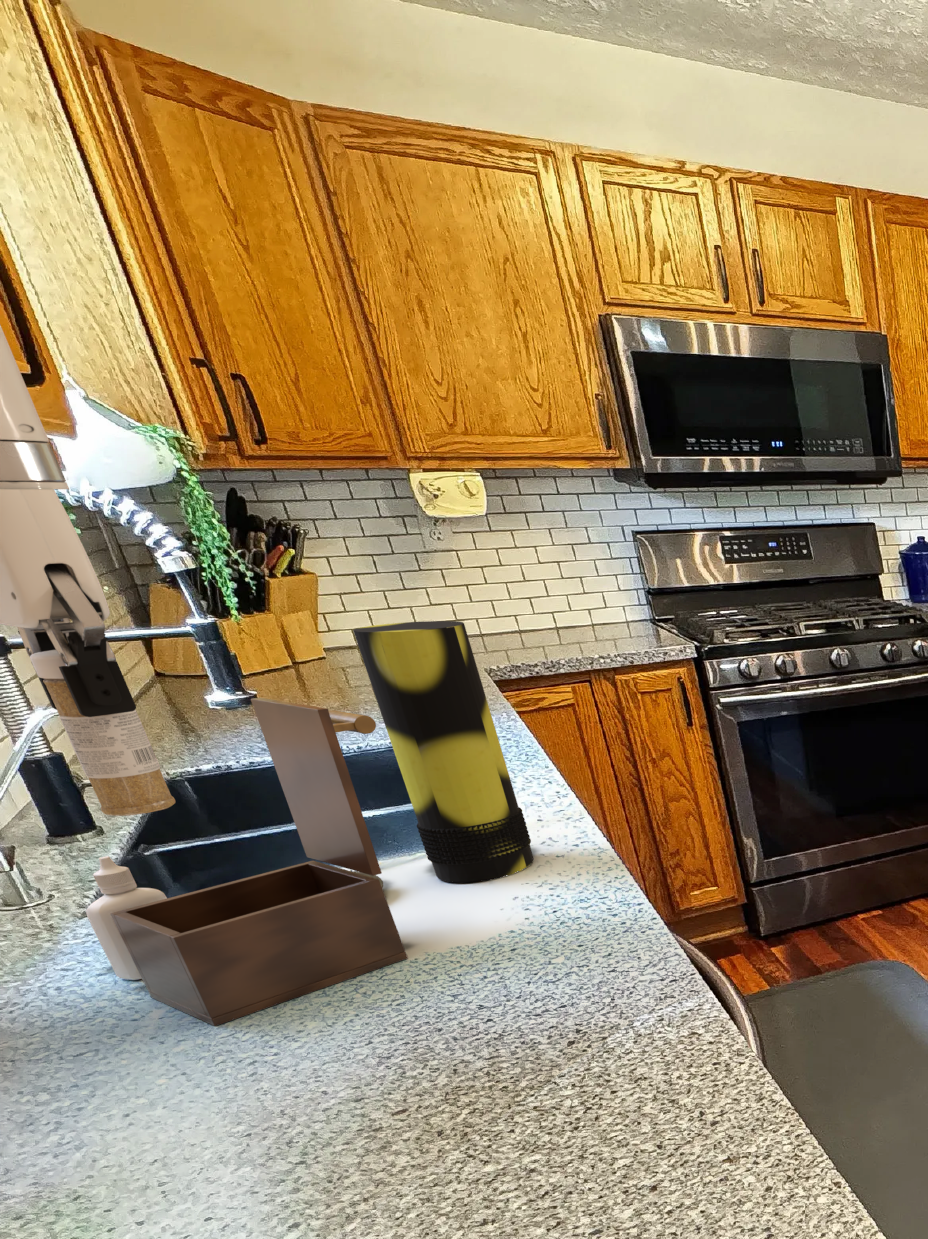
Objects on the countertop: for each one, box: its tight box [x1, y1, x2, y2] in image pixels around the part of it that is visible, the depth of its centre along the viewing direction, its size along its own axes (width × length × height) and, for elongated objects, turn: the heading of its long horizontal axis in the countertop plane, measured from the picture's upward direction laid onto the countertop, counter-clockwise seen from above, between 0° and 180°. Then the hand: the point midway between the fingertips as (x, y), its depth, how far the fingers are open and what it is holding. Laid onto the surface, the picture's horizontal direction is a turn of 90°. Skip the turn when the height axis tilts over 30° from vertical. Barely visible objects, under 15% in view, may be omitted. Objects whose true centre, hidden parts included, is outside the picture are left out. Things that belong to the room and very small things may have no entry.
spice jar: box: [29, 650, 176, 817], centre depth 82 cm, size 5×5×13 cm
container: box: [352, 620, 535, 884], centre depth 120 cm, size 11×11×30 cm
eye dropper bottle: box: [85, 855, 168, 981], centre depth 97 cm, size 4×6×12 cm
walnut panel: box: [250, 697, 382, 876], centre depth 100 cm, size 16×13×6 cm
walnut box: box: [110, 860, 409, 1027], centre depth 96 cm, size 16×13×9 cm
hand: (94, 708), depth 81 cm, fingers closed on spice jar, 4 cm apart
